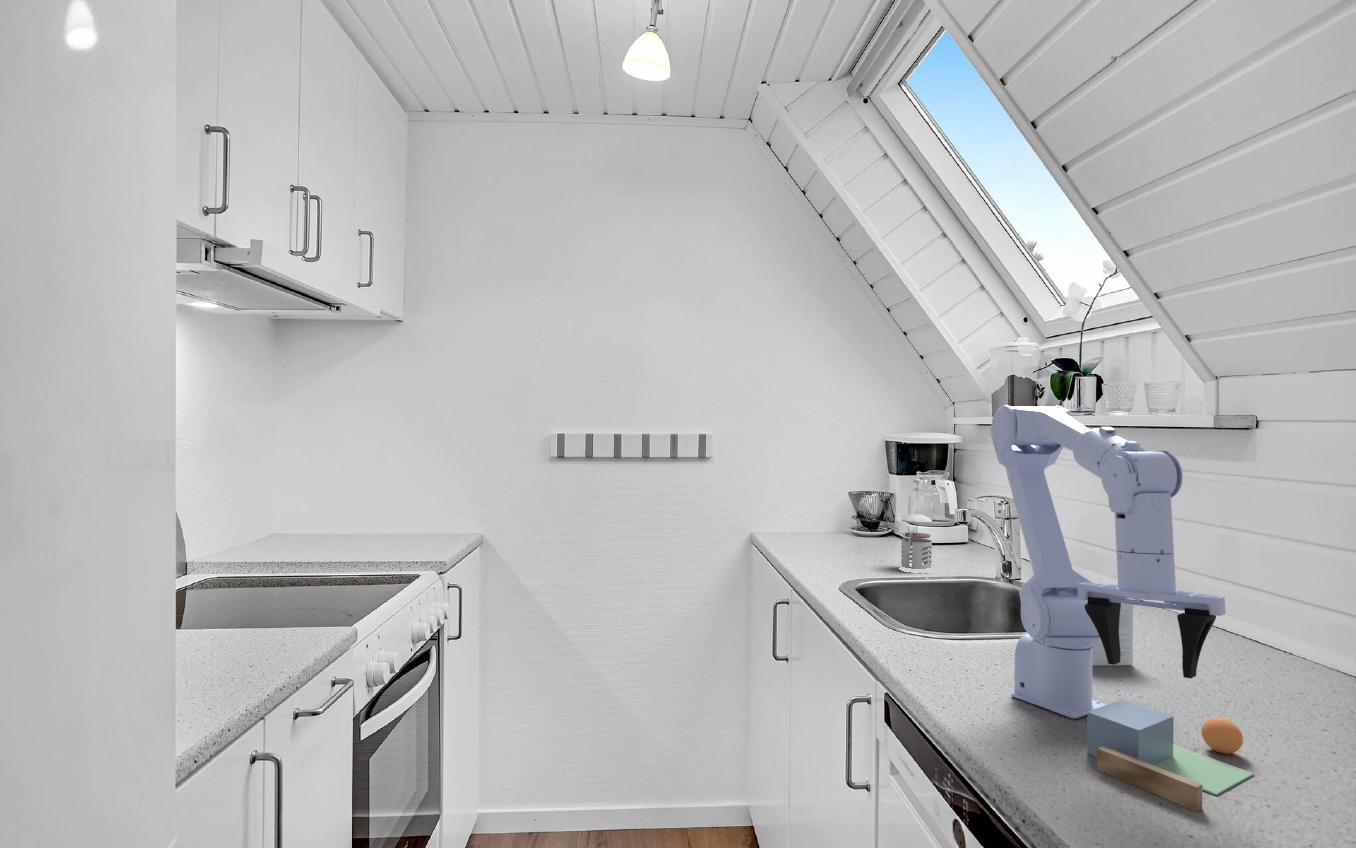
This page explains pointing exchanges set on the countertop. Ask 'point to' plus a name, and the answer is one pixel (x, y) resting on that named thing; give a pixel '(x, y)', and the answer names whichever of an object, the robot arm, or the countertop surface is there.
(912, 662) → the countertop surface
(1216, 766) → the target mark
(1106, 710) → the grey-blue rectangular brick
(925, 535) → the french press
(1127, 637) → the small box
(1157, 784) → the wall
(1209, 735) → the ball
